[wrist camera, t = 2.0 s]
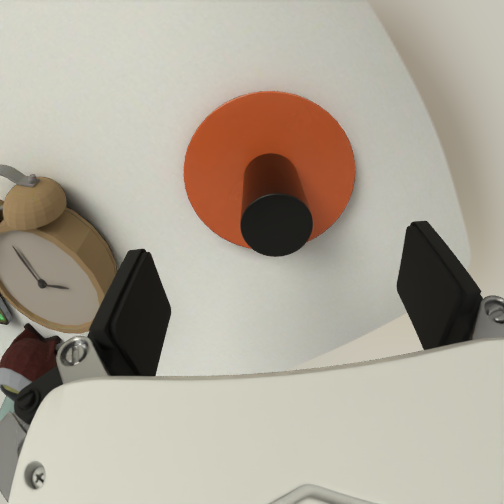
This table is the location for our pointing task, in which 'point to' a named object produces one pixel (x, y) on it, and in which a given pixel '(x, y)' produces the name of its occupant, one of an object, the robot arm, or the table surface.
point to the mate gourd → (26, 361)
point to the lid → (269, 171)
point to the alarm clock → (50, 256)
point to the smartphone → (4, 313)
